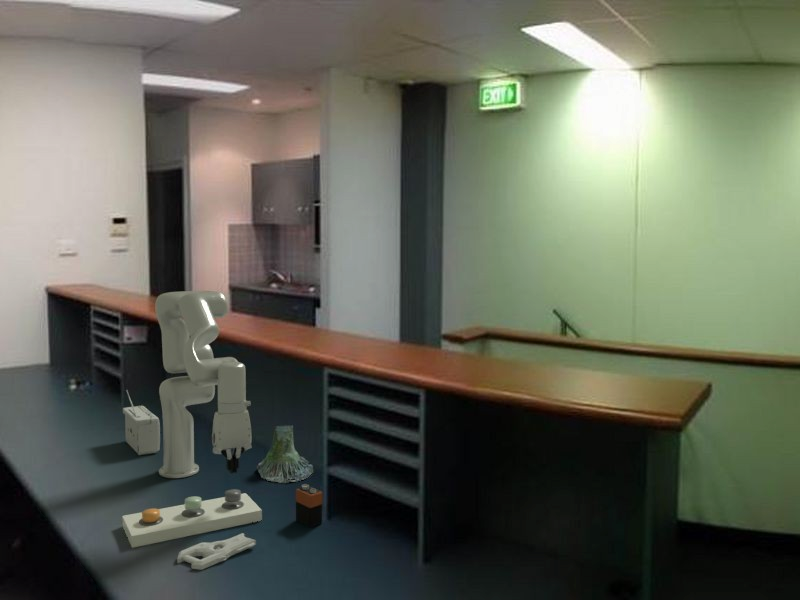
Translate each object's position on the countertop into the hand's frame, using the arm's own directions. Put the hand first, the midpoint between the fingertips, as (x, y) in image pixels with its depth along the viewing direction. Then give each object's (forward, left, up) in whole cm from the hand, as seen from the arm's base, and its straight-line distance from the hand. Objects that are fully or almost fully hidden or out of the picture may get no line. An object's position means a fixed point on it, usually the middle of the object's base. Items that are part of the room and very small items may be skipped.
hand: (232, 471), depth 192 cm
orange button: (0, -22, -9) cm, 24 cm away
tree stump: (-26, +26, -13) cm, 39 cm away
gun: (+20, -11, -14) cm, 27 cm away
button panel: (0, -11, -13) cm, 17 cm away
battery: (+14, +17, -13) cm, 26 cm away
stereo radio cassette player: (-74, -11, -13) cm, 76 cm away
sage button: (0, -11, -8) cm, 14 cm away
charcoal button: (0, 0, -8) cm, 8 cm away
